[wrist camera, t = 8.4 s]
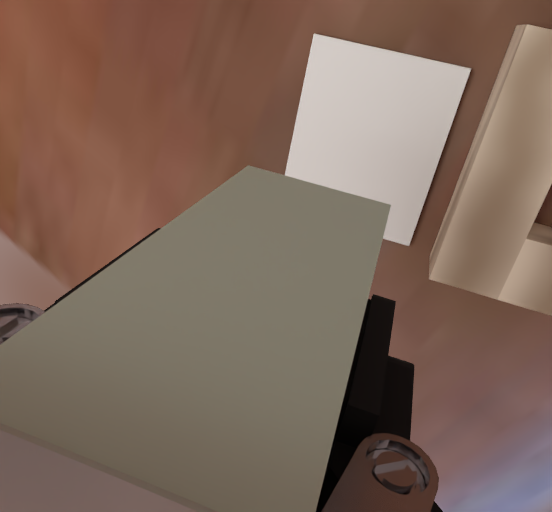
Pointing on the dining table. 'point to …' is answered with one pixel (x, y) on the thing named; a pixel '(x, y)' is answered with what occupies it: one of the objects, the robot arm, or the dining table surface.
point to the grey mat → (374, 125)
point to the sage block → (210, 347)
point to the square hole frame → (505, 187)
